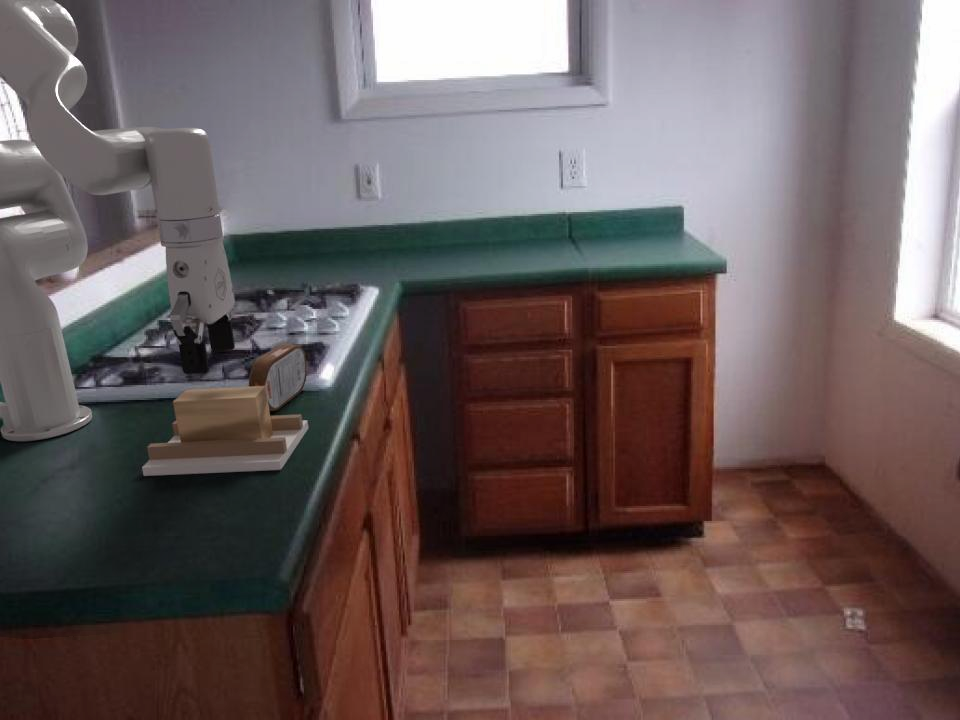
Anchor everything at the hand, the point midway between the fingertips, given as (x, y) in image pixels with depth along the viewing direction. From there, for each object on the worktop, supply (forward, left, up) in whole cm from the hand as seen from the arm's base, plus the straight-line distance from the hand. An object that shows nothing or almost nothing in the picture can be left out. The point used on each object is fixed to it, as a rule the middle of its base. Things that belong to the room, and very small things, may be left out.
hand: (210, 360), depth 113 cm
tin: (+3, +19, -13) cm, 23 cm away
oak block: (+1, 0, -12) cm, 12 cm away
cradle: (+1, 0, -13) cm, 13 cm away
